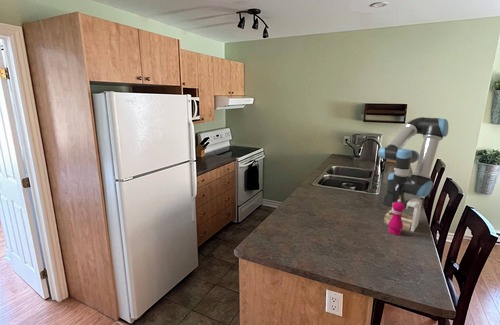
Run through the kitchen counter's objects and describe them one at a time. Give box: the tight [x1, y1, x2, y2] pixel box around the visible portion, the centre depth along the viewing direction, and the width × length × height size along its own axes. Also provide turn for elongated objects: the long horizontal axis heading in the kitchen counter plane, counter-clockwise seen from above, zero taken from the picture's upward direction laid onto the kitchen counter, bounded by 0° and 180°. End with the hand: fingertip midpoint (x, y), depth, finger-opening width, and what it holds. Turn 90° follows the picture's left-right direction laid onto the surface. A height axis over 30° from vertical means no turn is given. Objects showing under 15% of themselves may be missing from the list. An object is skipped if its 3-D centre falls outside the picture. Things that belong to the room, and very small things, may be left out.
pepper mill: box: [387, 199, 406, 236], centre depth 151 cm, size 7×7×20 cm
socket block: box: [383, 209, 413, 231], centre depth 164 cm, size 12×14×5 cm
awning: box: [405, 197, 423, 233], centre depth 159 cm, size 12×6×16 cm, turn 137°
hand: (395, 211), depth 165 cm, fingers closed on peg, 4 cm apart
